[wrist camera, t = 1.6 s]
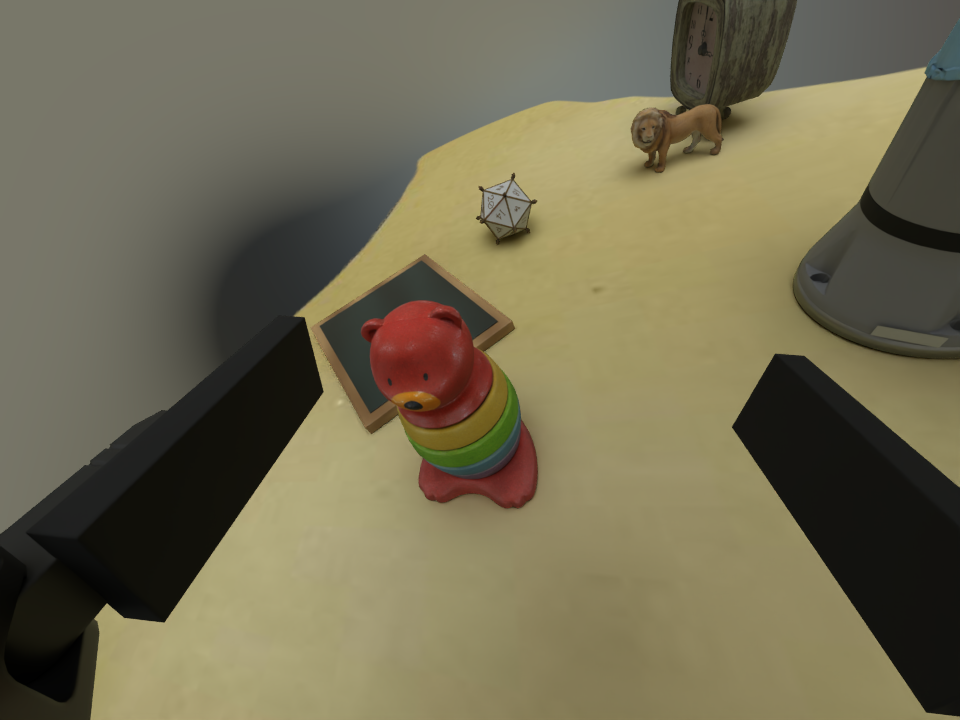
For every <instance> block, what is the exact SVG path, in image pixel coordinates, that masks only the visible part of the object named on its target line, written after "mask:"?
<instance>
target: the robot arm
mask: <svg viewBox="0 0 960 720" xmlns="http://www.w3.org/2000/svg"><path fill="white" fill-rule="evenodd" d="M925 74H926V76H927V78H926V79H925V81H924V83H923V85H922V87H921V89H920V91H919V92H918V94H917V96H916V98H915V100H914V102H913V104H912V106H911V107H910V109H909V111H908V113H907V115H906V116H905V118H904V120H903V122H902V124H901V125H900V127H899V129H898V131H897V133H896V135H895V136H894V138H893V140H892V142H891V144H890V145H889V147H888V149H887V151H886V153H885V154H884V156H883V158H882V160H881V162H880V164H879V165H878V167H877V169H876V171H875V173H874V174H873V176H872V178H871V180H870V182H869V184H868V186H867V188H866V189H865V191H864V193H863V195H862V197H861V199H860V200H859V202H858V203H857V204H856V205H855V206H854V207H853V208H852V209H851V210H850V211H849V212H848V213H847V214H846V215H845V216H844V217H843V218H842V219H841V220H840V221H839V222H838V223H837V224H836V225H834V226H833V227H832V228H831V229H830V230H829V231H828V232H827V233H826V234H825V235H824V236H823V237H822V238H821V239H820V240H819V241H818V242H817V243H816V244H815V245H814V246H813V247H812V248H811V249H810V250H809V251H808V253H807V254H806V255H805V257H804V258H803V259H802V261H801V263H800V265H799V267H798V269H797V271H796V273H795V276H794V280H793V290H794V294H795V296H796V299H797V301H798V302H799V304H800V305H801V307H802V308H803V309H804V310H805V311H806V313H807V314H808V315H809V316H811V317H812V318H813V319H814V320H815V321H817V322H818V323H819V324H821V325H822V326H824V327H825V328H827V329H828V330H830V331H832V332H834V333H836V334H838V335H839V336H842V337H844V338H846V339H848V340H851V341H853V342H856V343H858V344H861V345H864V346H867V347H870V348H874V349H878V350H881V351H885V352H890V353H895V354H900V355H906V356H914V357H923V358H960V18H959V20H958V22H957V23H956V25H955V27H954V28H953V30H952V31H951V33H950V35H949V36H948V38H947V40H946V41H945V43H944V45H943V47H942V48H941V50H940V51H939V52H938V53H937V54H936V55H935V56H934V57H933V58H932V59H931V60H930V62H929V64H928V66H927V68H926V71H925ZM322 393H323V388H322V384H321V380H320V376H319V372H318V368H317V364H316V360H315V356H314V352H313V348H312V345H311V341H310V337H309V333H308V329H307V325H306V321H305V317H293V316H278V317H276V318H275V319H274V320H273V321H272V322H271V323H269V324H268V325H267V326H266V327H265V328H264V329H262V330H261V331H260V332H259V333H258V334H256V335H255V336H254V337H253V338H252V339H251V340H250V341H248V342H247V343H246V344H245V345H244V346H242V347H241V348H240V349H239V350H238V351H237V352H235V353H234V354H233V355H232V356H231V357H230V358H228V359H227V360H226V361H225V362H224V363H223V364H222V365H220V366H219V367H218V368H217V369H216V370H215V371H213V372H212V373H211V374H210V375H209V376H207V377H206V378H205V379H204V380H203V381H202V382H200V383H199V384H198V385H197V386H196V387H195V388H193V389H192V390H191V391H190V392H189V393H188V394H186V395H185V396H184V397H183V398H182V399H181V400H179V401H178V402H177V403H176V404H175V405H174V406H172V407H171V408H170V409H169V410H168V411H165V410H161V411H160V412H158V413H156V414H154V415H152V416H150V417H148V418H147V419H145V420H143V421H141V422H139V423H137V424H135V425H134V426H132V427H131V428H130V429H129V430H127V431H126V432H125V433H124V434H123V435H121V436H120V437H119V438H118V439H116V440H115V441H114V442H113V443H112V444H110V448H109V449H104V450H103V451H102V452H101V453H99V454H98V455H97V456H96V457H94V458H93V459H92V460H91V461H90V462H91V463H90V464H89V465H85V466H83V467H82V468H81V469H80V470H79V471H77V472H76V473H75V474H74V475H73V476H71V477H70V478H69V479H68V480H66V481H65V482H64V483H63V484H61V485H60V486H59V487H58V488H57V489H55V490H54V491H53V492H52V493H50V494H49V495H48V496H47V497H46V498H45V499H43V500H42V501H41V502H40V503H38V504H37V505H36V506H35V507H33V508H32V509H31V510H30V511H29V512H27V513H26V514H25V515H24V516H22V518H20V519H19V520H18V521H16V522H15V523H14V524H13V525H12V526H10V527H9V528H8V529H7V530H5V531H4V532H3V533H1V534H0V720H90V717H91V708H92V698H93V689H94V679H95V670H96V660H97V651H98V641H99V628H98V623H97V621H96V620H95V619H94V618H95V617H96V615H97V614H98V613H99V612H100V611H101V609H102V608H103V607H104V606H105V605H106V603H108V604H109V605H110V606H111V607H112V608H113V609H115V610H116V611H117V612H118V613H119V614H120V615H122V616H123V617H124V618H130V619H139V620H147V621H156V622H165V621H166V619H167V618H168V617H169V615H170V614H171V612H172V611H173V609H174V608H175V606H176V605H177V604H178V602H179V601H180V599H181V598H182V596H183V595H184V593H185V592H186V590H187V589H188V588H189V586H190V585H191V583H192V582H193V580H194V579H195V577H196V576H197V575H198V573H199V572H200V570H201V569H202V567H203V566H204V564H205V563H206V562H207V560H208V559H209V557H210V556H211V554H212V553H213V551H214V550H215V548H216V547H217V546H218V544H219V543H220V541H221V540H222V538H223V537H224V535H225V534H226V533H227V531H228V530H229V528H230V527H231V525H232V524H233V522H234V521H235V519H236V518H237V517H238V515H239V514H240V512H241V511H242V509H243V508H244V506H245V505H246V504H247V502H248V501H249V499H250V498H251V496H252V495H253V493H254V492H255V490H256V489H257V488H258V486H259V485H260V483H261V482H262V480H263V479H264V477H265V476H266V475H267V473H268V472H269V470H270V469H271V467H272V466H273V464H274V463H275V462H276V460H277V459H278V457H279V456H280V454H281V453H282V451H283V450H284V448H285V447H286V446H287V444H288V443H289V441H290V440H291V438H292V437H293V435H294V434H295V433H296V431H297V430H298V428H299V427H300V425H301V424H302V422H303V421H304V419H305V418H306V417H307V415H308V414H309V412H310V411H311V409H312V408H313V406H314V405H315V404H316V402H317V401H318V399H319V398H320V396H321V395H322ZM732 428H733V429H734V431H735V432H736V434H737V435H738V437H739V438H740V440H741V441H742V443H743V444H744V446H745V447H746V449H747V450H748V451H749V453H750V454H751V456H752V457H753V459H754V460H755V462H756V463H757V465H758V466H759V468H760V469H761V471H762V472H763V473H764V475H765V476H766V478H767V479H768V481H769V482H770V484H771V485H772V487H773V488H774V490H775V491H776V493H777V494H778V495H779V497H780V498H781V500H782V501H783V503H784V504H785V506H786V507H787V509H788V510H789V512H790V513H791V515H792V516H793V517H794V519H795V520H796V522H797V523H798V525H799V526H800V528H801V529H802V531H803V532H804V534H805V535H806V537H807V538H808V540H809V541H810V542H811V544H812V545H813V547H814V548H815V550H816V551H817V553H818V554H819V556H820V557H821V559H822V560H823V562H824V563H825V564H826V566H827V567H828V569H829V570H830V572H831V573H832V575H833V576H834V578H835V579H836V581H837V582H838V584H839V585H840V586H841V588H842V589H843V591H844V592H845V594H846V595H847V597H848V598H849V600H850V601H851V603H852V604H853V606H854V607H855V608H856V610H857V611H858V613H859V614H860V616H861V617H862V619H863V620H864V622H865V623H866V625H867V626H868V628H869V629H870V631H871V632H872V633H873V635H874V636H875V638H876V639H877V641H878V642H879V644H880V645H881V647H882V648H883V650H884V651H885V653H886V654H887V655H888V657H889V658H890V660H891V661H892V663H893V664H894V666H895V667H896V669H897V670H898V672H899V673H900V675H901V676H902V677H903V679H904V680H905V682H906V683H907V685H908V686H909V688H910V689H911V691H912V692H913V694H914V695H915V697H916V698H917V699H918V701H919V702H920V704H921V705H922V707H923V708H924V710H925V711H926V713H935V714H943V715H952V716H960V487H958V486H957V485H956V484H954V483H953V482H952V481H951V480H950V479H949V478H947V477H946V476H945V475H944V474H943V473H941V472H940V471H939V470H938V469H937V468H936V467H934V466H933V465H932V464H931V463H930V462H929V461H927V460H926V459H925V458H924V457H923V456H921V455H920V454H919V453H918V452H917V451H916V450H914V449H913V448H912V447H911V446H910V445H909V444H907V443H906V442H905V441H904V440H903V439H901V438H900V437H899V436H898V435H897V434H896V433H894V432H893V431H892V430H891V429H890V428H889V427H887V426H886V425H885V424H884V423H883V422H881V421H880V420H879V419H878V418H877V417H876V416H874V415H873V414H872V413H871V412H870V411H869V410H867V409H866V408H865V407H864V406H863V405H861V404H860V403H859V402H858V401H857V400H856V399H854V398H853V397H852V396H851V395H850V394H849V393H847V392H846V391H845V390H844V389H843V388H841V387H840V386H839V385H838V384H837V383H836V382H834V381H833V380H832V379H831V378H830V377H829V376H827V375H826V374H825V373H824V372H823V371H821V370H820V369H819V368H818V367H817V366H816V365H814V364H813V363H812V362H811V361H810V360H809V359H807V358H806V357H805V356H799V355H786V354H775V355H774V356H773V358H772V360H771V362H770V363H769V365H768V367H767V368H766V370H765V372H764V373H763V375H762V377H761V379H760V380H759V382H758V384H757V385H756V387H755V389H754V390H753V392H752V394H751V396H750V397H749V399H748V401H747V402H746V404H745V406H744V407H743V409H742V411H741V413H740V414H739V416H738V418H737V419H736V421H735V423H734V424H733V426H732Z"/></svg>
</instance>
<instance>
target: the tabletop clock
mask: <svg viewBox="0 0 960 720" xmlns="http://www.w3.org/2000/svg"><path fill="white" fill-rule="evenodd" d="M796 3H797V0H679V2H678V8H677V14H676V21H675V29H674V36H673V45H672V57H671V75H670V77H671V78H670V82H671V91H672V94H673V96H674V97H675V99H676V100H677V101H679V102H680V103H681V104H682V105H683V106H680V107H678V108H677V110H676V115H679V114H682V113H684V112H686V108H687V109H689V110H691V109H692V108H694V107H696V106H699V105H705V104H710V105H713V106H715V107H717V108H718V110H719V112H720V115H721V118H722V119H725V118H727V117H728V116H729V115H730V114H731V109H730V108H729V107H727V106H729V105H733V104H736V103H739V102H742V101H745V100H748V99H751V98H755V97H758V96H759V95H760V94H761V93H763V92H764V91H765V90H766V89H767V88H768V87H769V85H771V83H772V81H773V79H774V77H775V75H776V73H777V70H778V67H779V65H780V61H781V58H782V55H783V52H784V49H785V45H786V42H787V39H788V35H789V32H790V28H791V24H792V20H793V16H794V12H795V8H796Z"/></svg>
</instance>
